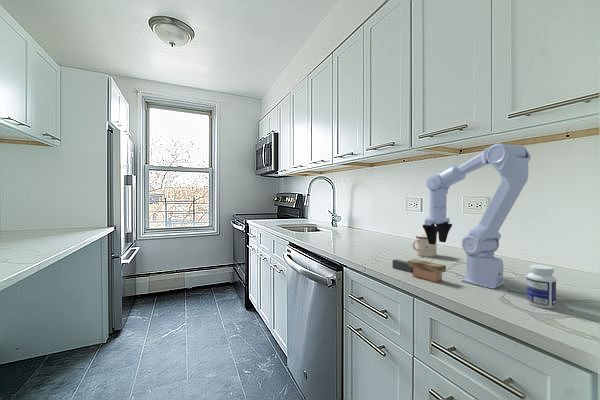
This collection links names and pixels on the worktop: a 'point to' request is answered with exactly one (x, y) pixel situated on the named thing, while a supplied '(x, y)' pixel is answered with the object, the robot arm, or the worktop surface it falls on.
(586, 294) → the worktop surface
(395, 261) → the rubber mat block
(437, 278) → the tan rectangular block
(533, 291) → the pill bottle
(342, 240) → the worktop surface
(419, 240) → the teacup with lid
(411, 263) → the walnut sheet
